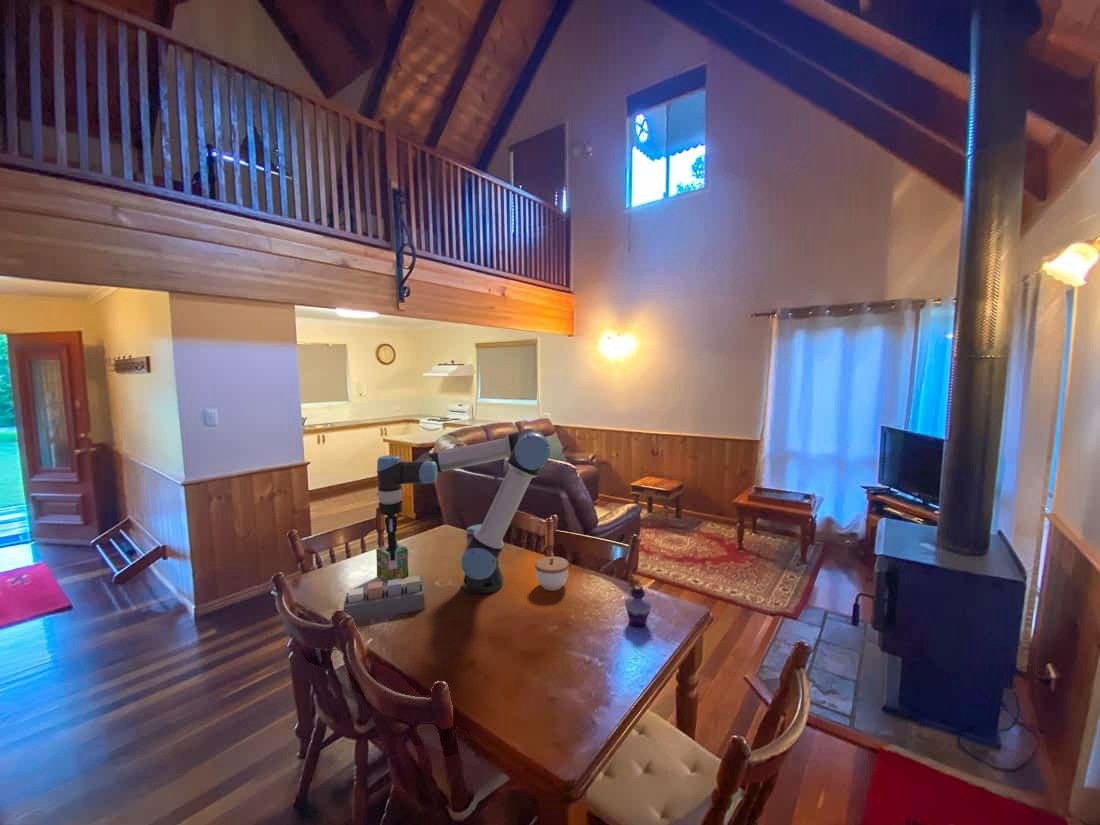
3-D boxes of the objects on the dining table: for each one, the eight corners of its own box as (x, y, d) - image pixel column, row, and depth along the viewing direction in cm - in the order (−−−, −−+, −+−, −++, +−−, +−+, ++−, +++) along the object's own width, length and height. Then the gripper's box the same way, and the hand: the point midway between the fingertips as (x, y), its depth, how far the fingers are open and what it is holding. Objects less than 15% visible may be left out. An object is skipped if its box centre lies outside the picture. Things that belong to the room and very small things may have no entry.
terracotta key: (383, 596, 159) (382, 581, 159) (382, 602, 155) (381, 586, 155) (369, 598, 158) (368, 583, 158) (368, 604, 154) (367, 588, 153)
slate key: (401, 593, 161) (400, 578, 161) (401, 599, 157) (401, 583, 157) (388, 595, 160) (387, 580, 159) (388, 601, 156) (387, 586, 155)
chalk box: (376, 577, 183) (374, 541, 181) (397, 569, 189) (395, 534, 188) (388, 584, 176) (386, 546, 175) (409, 575, 183) (408, 540, 182)
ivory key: (364, 602, 158) (363, 587, 157) (363, 608, 153) (362, 593, 153) (350, 604, 156) (349, 589, 156) (349, 611, 152) (348, 595, 152)
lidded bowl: (569, 579, 178) (569, 551, 177) (567, 594, 166) (567, 565, 165) (537, 578, 179) (537, 551, 178) (533, 593, 167) (532, 564, 166)
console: (423, 595, 167) (422, 581, 166) (424, 609, 157) (424, 593, 157) (347, 608, 159) (346, 592, 158) (344, 622, 149) (343, 606, 149)
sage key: (419, 590, 163) (419, 575, 163) (420, 595, 159) (419, 581, 159) (407, 592, 162) (406, 577, 161) (407, 598, 158) (406, 583, 157)
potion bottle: (641, 613, 152) (641, 579, 151) (656, 627, 144) (657, 590, 143) (619, 619, 149) (619, 583, 148) (633, 633, 141) (633, 595, 140)
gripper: (379, 497, 160) (382, 562, 163) (377, 507, 148) (380, 577, 150) (401, 495, 163) (404, 559, 165) (402, 505, 150) (404, 574, 153)
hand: (393, 567), depth 158 cm, fingers closed
